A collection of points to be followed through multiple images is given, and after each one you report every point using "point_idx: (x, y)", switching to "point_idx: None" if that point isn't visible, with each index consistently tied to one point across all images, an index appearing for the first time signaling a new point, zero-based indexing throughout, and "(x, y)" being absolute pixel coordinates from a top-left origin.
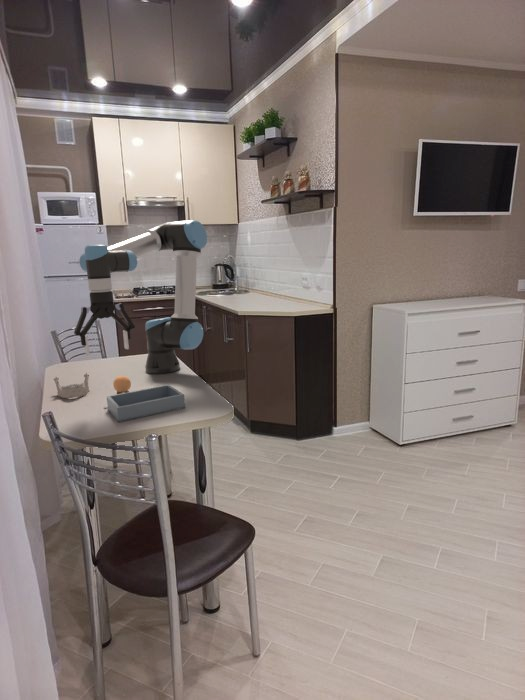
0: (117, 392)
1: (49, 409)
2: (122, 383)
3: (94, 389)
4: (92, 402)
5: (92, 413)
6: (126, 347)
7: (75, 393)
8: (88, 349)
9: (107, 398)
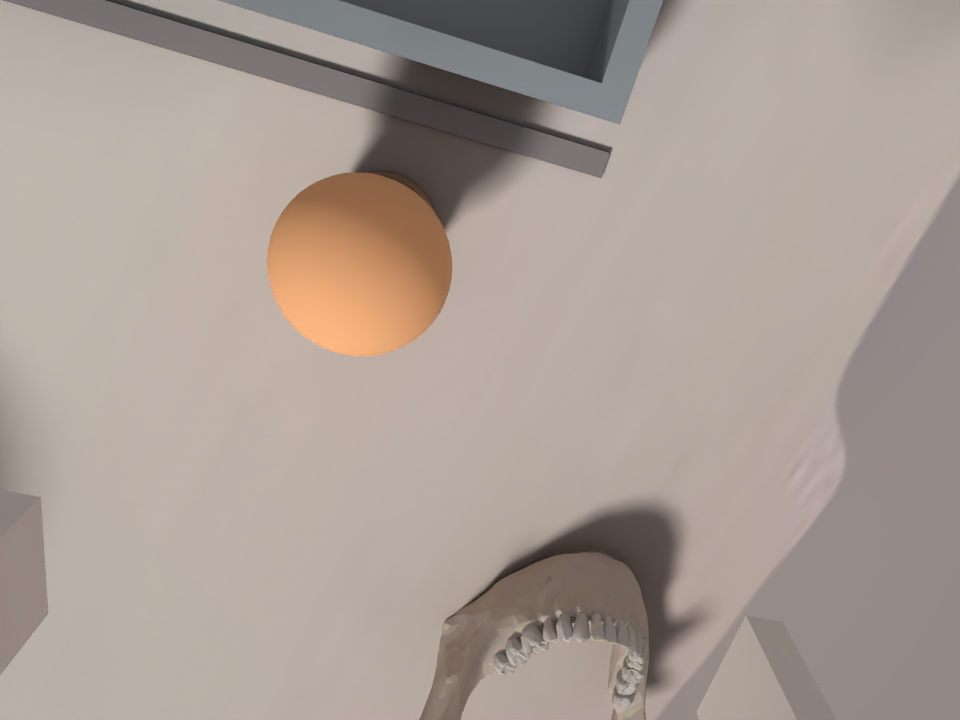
0: None
1: (826, 476)
2: (391, 191)
3: (406, 626)
4: (571, 383)
5: (729, 127)
6: (16, 537)
7: (598, 572)
8: (806, 710)
9: (631, 82)
